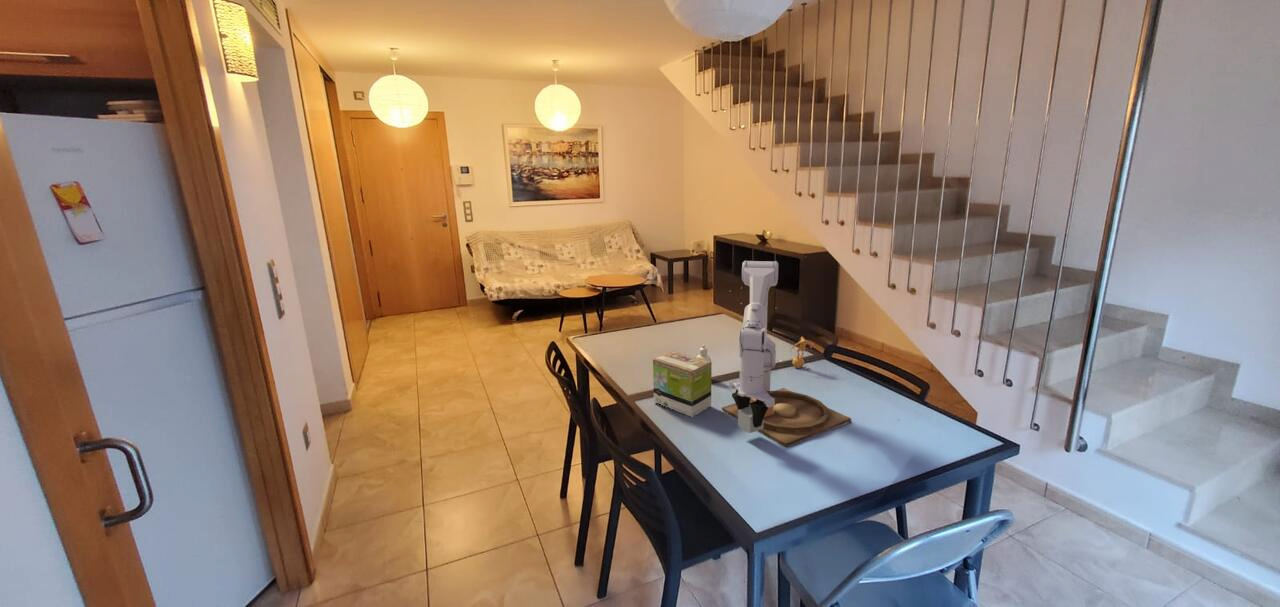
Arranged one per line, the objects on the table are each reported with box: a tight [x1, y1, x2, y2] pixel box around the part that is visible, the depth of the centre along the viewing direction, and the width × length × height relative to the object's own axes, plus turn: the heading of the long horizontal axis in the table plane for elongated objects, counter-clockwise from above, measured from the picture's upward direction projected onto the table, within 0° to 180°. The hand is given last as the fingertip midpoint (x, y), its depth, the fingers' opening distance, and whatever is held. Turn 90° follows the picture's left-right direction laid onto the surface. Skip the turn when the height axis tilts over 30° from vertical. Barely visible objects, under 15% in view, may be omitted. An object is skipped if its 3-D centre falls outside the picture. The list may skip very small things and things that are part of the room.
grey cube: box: [737, 406, 764, 434], centre depth 133 cm, size 5×5×5 cm
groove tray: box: [721, 387, 852, 448], centre depth 146 cm, size 25×25×2 cm
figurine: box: [789, 336, 813, 369], centre depth 179 cm, size 8×6×12 cm
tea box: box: [652, 350, 713, 418], centre depth 153 cm, size 15×10×15 cm
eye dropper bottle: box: [696, 344, 712, 362], centre depth 173 cm, size 4×6×12 cm
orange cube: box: [749, 398, 773, 417], centre depth 145 cm, size 5×5×5 cm
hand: (750, 422), depth 134 cm, fingers closed on grey cube, 5 cm apart
